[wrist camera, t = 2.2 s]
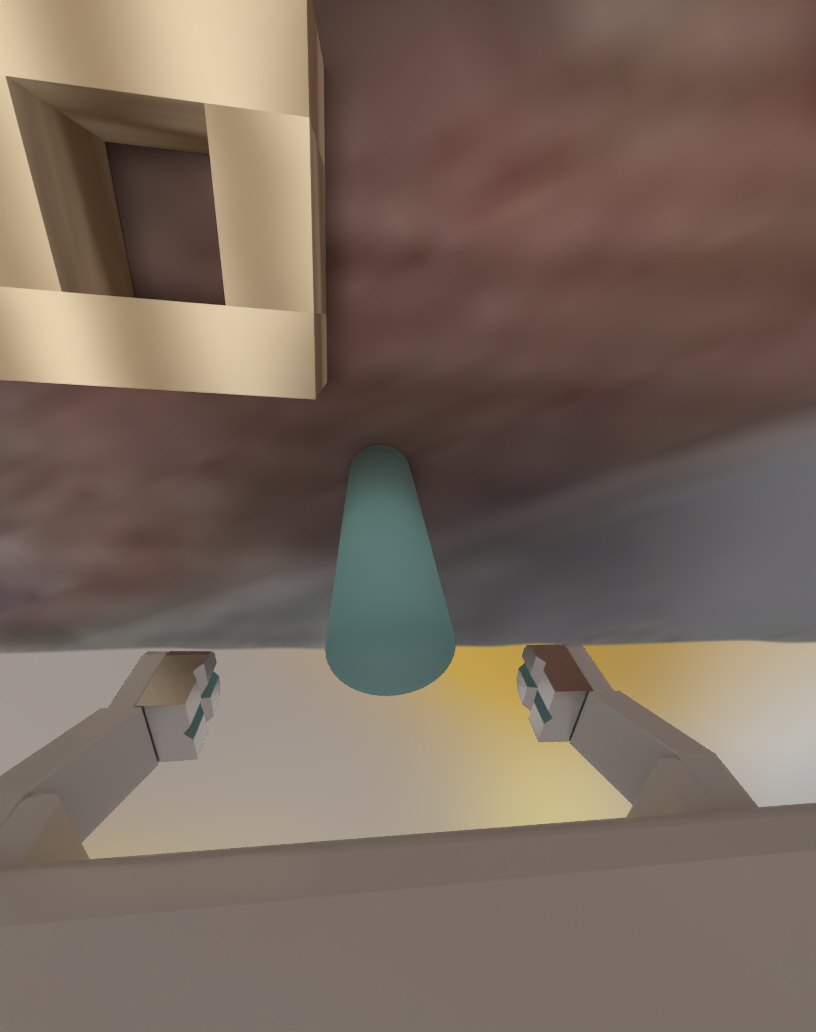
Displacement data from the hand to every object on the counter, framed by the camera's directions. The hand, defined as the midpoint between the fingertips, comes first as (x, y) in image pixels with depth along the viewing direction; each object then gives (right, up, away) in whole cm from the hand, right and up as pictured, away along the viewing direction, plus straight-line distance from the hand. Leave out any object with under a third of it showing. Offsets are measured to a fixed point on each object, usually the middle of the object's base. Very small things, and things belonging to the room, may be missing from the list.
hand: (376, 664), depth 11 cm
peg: (-1, +6, +13) cm, 15 cm away
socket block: (-9, +17, +7) cm, 20 cm away
